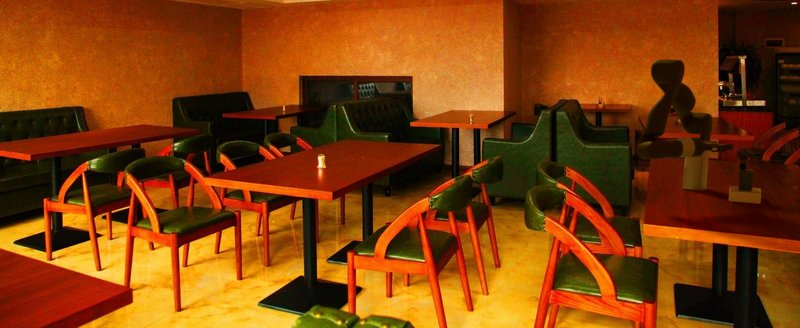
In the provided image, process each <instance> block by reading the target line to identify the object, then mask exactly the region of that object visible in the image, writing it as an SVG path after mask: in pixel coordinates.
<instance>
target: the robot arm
mask: <svg viewBox="0 0 800 328" xmlns="http://www.w3.org/2000/svg"><path fill="white" fill-rule="evenodd" d="M685 69H686V67H685V63H684V62H683V60H681V59H666V58H665V59H657V60H655V61H653V62H652V64H651V67H650V74H651V78H652V80H653V82H654V83H655V84H656V85H657V87H659V88H660V90H661V91H662V92H663V93H664V94H662V96H661V97H660V99H659V100H658V101H657V102H655V104H654V105H653V106H652V107H651V109H650V110H649V113H648V116H647V119H646V123H645V128H644V130H643V132H642V133H641V136H640V138H639V140H638V142H637V145H636V154H637V156H638V158H640V159H643V160H659V159H665V158H670V159H671V158H684V167H683V176H682V189H683V190H690V191H705V190H707V186H708V185H707V182H708V171H709V155H710V154H709V153H710V152H711V153H725V152H727V151H731V150H733V149H734V148H733V146H734V144H733V143H719V142H718V141H717V140H711V136H712V135H711V134H712V129H713V116H712V114H710V113H708V112H693V109H694V108H695V106H696V103H697V101H696V96H695V94H694V92H693V91H692V89H691V88H690V87H689V86H687V85H686V84H685V83H683V79H684V76H685V73H686V71H685ZM672 108H673V109H674V111H675V113H676V114H677V116H678V119H679V121H680V124H681V127H682V128H683V131H685V133H686V134H691V135H699V136H697V137H694V136H693V137H681V138H675V139H672V138H671V139H665V140H658V138H659V137H661V136H663V135H664V134H665V130H666V127H667V122H668V119H669V115H670V111H671V109H672Z"/></svg>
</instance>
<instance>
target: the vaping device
mask: <svg viewBox="0 0 800 328" xmlns="http://www.w3.org/2000/svg"><path fill="white" fill-rule="evenodd" d="M738 167H739V169H738V177H739V178H738V179H739V180H738V187H739V188H738V189H742V190H752V188H754V186H753V185H754V172H753V171H754V170H753V169H750V168H749V169H748V168H747V161H746V159H745V158H744V159H741V161H739V166H738Z"/></svg>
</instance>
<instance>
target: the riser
mask: <svg viewBox="0 0 800 328" xmlns="http://www.w3.org/2000/svg"><path fill="white" fill-rule="evenodd" d="M738 188H739V186H734V185H730V186H729V191H728V202H736V203H749V204H761V200H762V191H761V188H759V187H752V190H742V189H738Z"/></svg>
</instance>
